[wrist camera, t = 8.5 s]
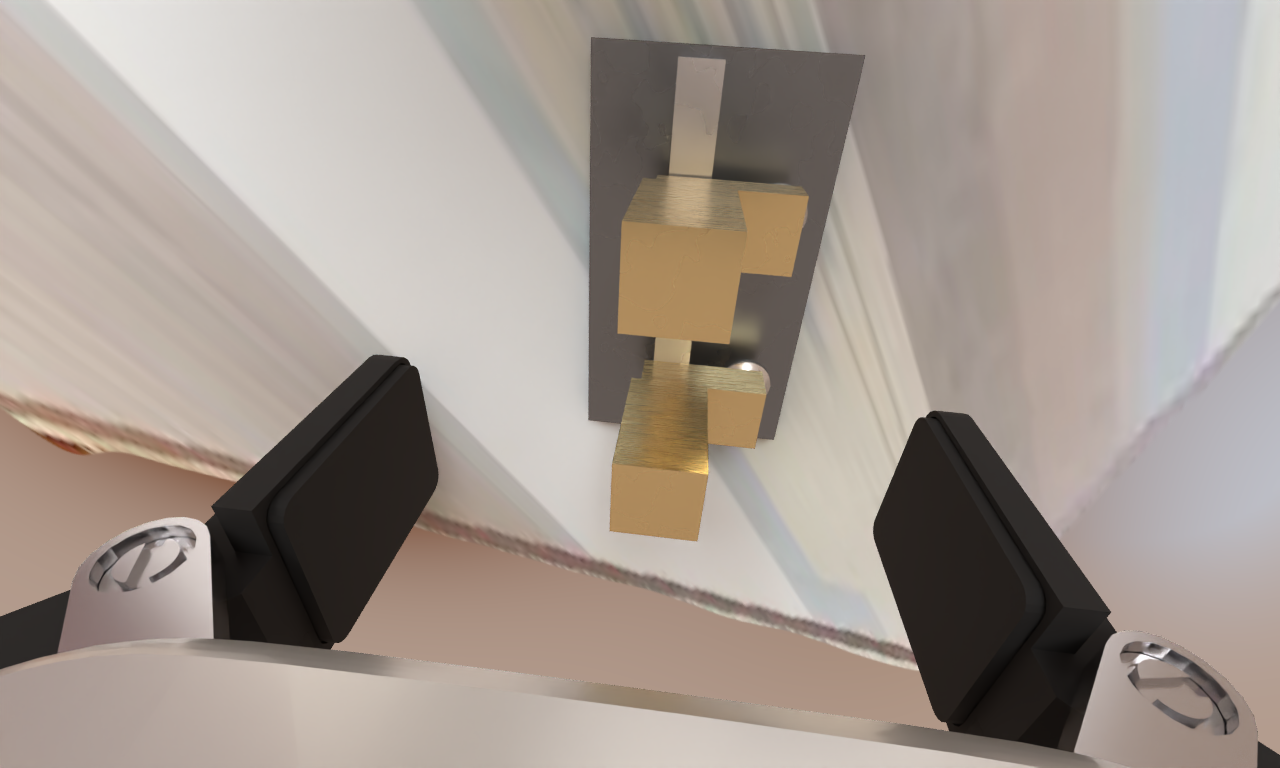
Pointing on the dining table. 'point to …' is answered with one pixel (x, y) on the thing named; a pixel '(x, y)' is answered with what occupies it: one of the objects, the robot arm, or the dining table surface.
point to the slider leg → (701, 252)
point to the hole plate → (766, 304)
